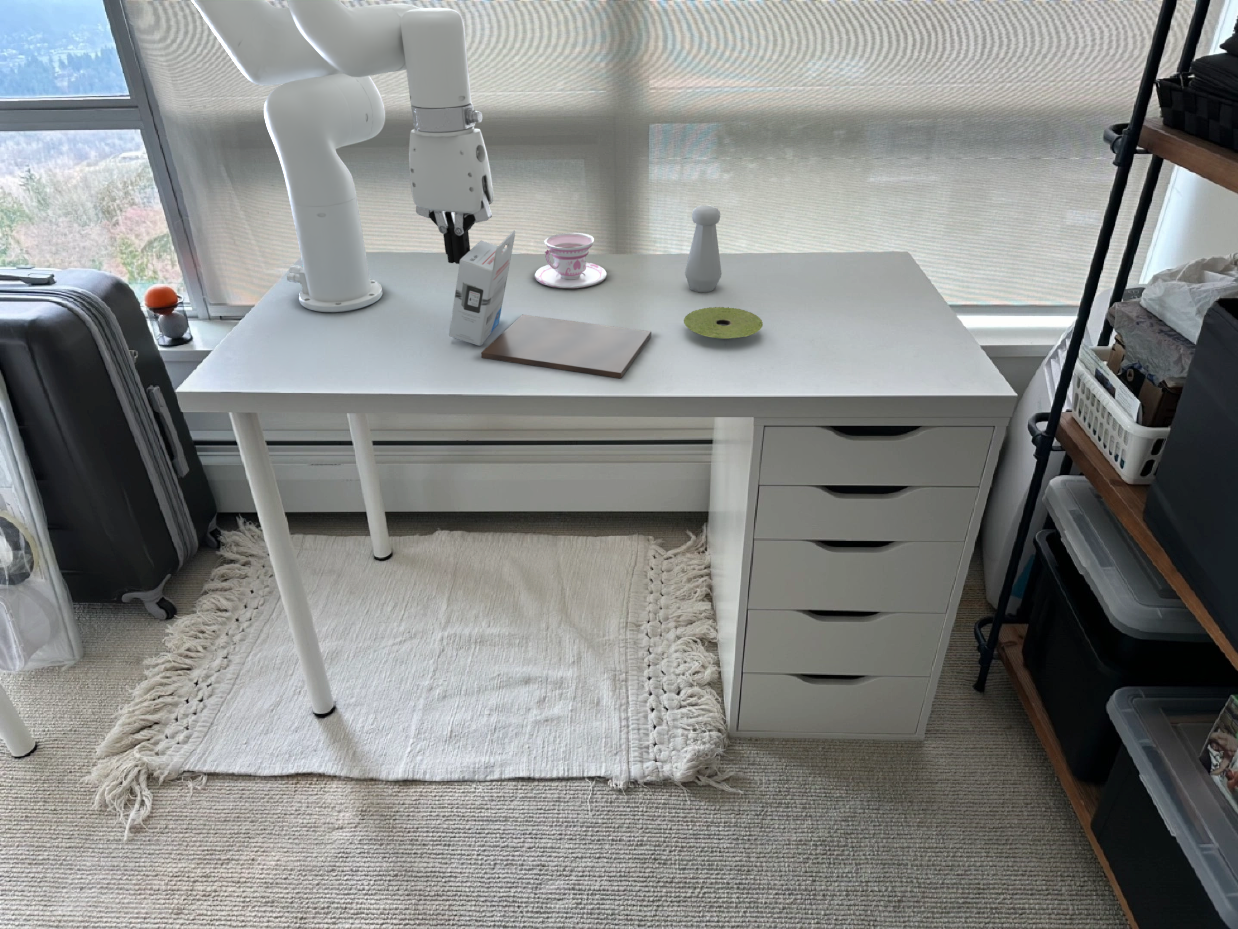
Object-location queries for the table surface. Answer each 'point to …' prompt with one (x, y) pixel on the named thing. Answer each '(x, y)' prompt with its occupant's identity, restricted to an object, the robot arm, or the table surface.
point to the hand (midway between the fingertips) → (458, 260)
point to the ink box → (480, 290)
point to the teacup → (569, 262)
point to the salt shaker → (704, 250)
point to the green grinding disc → (723, 322)
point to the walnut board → (568, 345)
